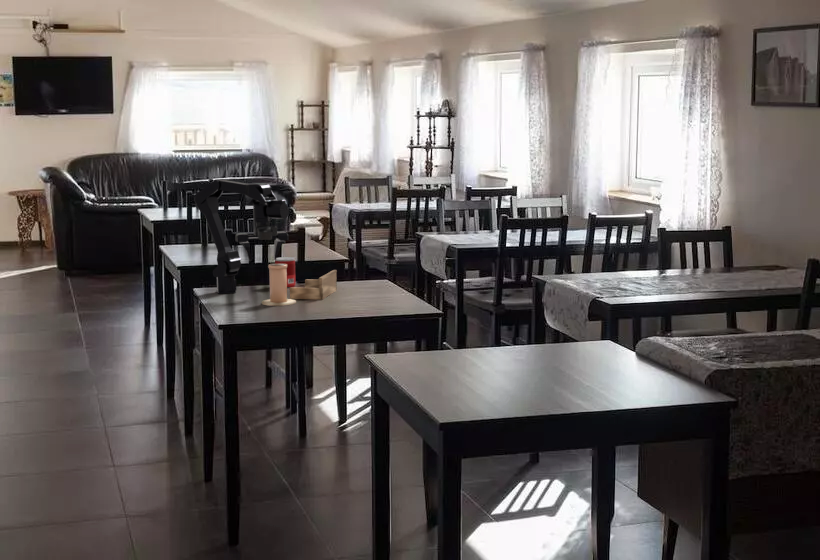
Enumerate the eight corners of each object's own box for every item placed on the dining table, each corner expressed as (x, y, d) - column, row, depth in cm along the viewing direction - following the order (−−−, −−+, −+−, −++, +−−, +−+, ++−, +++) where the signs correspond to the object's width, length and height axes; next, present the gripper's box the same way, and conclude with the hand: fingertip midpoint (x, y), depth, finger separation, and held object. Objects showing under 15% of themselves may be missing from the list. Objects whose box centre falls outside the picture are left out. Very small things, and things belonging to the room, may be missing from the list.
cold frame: (290, 298, 400) (289, 277, 399) (305, 289, 420) (305, 269, 419) (322, 299, 398) (322, 278, 396) (336, 290, 418) (336, 270, 417)
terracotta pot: (266, 302, 388) (265, 265, 387) (274, 299, 395) (273, 263, 393) (283, 303, 386) (282, 266, 384) (291, 300, 392) (290, 263, 390)
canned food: (297, 285, 432) (296, 257, 431) (293, 288, 424) (292, 259, 423) (278, 284, 433) (277, 256, 431) (273, 288, 425) (272, 259, 424)
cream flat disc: (265, 306, 383) (265, 305, 383) (259, 301, 394) (259, 299, 394) (299, 304, 387) (299, 303, 386) (292, 299, 398) (292, 297, 398)
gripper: (239, 220, 393) (240, 264, 395) (291, 219, 398) (292, 262, 400) (234, 218, 403) (235, 260, 405) (285, 216, 409) (286, 258, 411)
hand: (262, 260), depth 405 cm, fingers open, 9 cm apart
